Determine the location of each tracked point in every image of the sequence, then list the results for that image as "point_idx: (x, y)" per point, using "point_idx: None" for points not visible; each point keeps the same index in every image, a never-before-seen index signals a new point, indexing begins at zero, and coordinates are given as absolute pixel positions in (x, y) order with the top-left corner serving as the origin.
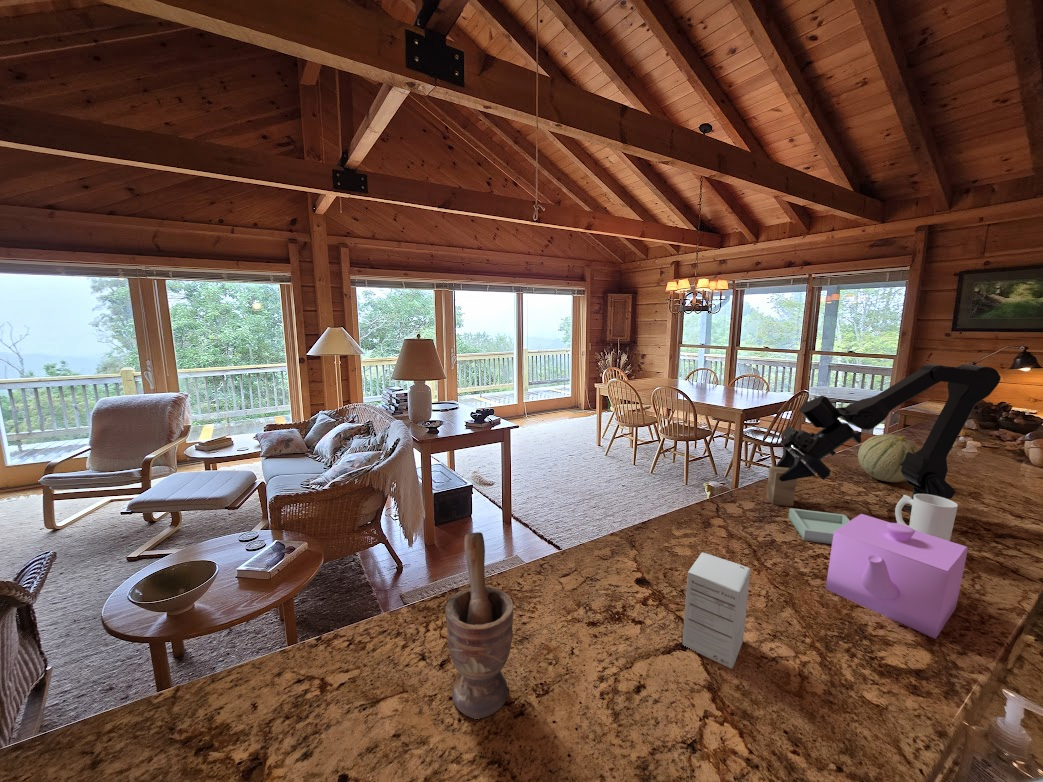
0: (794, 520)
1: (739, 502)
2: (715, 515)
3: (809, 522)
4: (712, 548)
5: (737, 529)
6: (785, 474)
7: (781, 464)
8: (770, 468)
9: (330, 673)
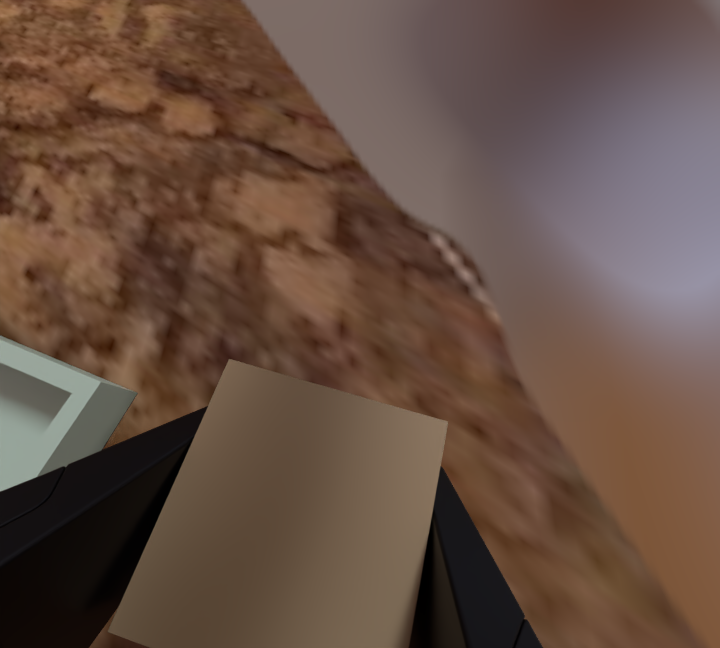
0: (38, 353)
1: (333, 261)
2: (232, 128)
3: (22, 446)
4: (49, 45)
5: (117, 143)
6: (147, 431)
7: (440, 606)
8: (411, 413)
9: None
